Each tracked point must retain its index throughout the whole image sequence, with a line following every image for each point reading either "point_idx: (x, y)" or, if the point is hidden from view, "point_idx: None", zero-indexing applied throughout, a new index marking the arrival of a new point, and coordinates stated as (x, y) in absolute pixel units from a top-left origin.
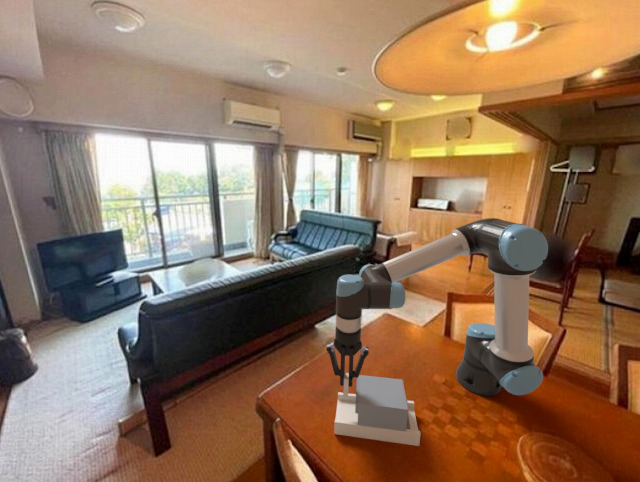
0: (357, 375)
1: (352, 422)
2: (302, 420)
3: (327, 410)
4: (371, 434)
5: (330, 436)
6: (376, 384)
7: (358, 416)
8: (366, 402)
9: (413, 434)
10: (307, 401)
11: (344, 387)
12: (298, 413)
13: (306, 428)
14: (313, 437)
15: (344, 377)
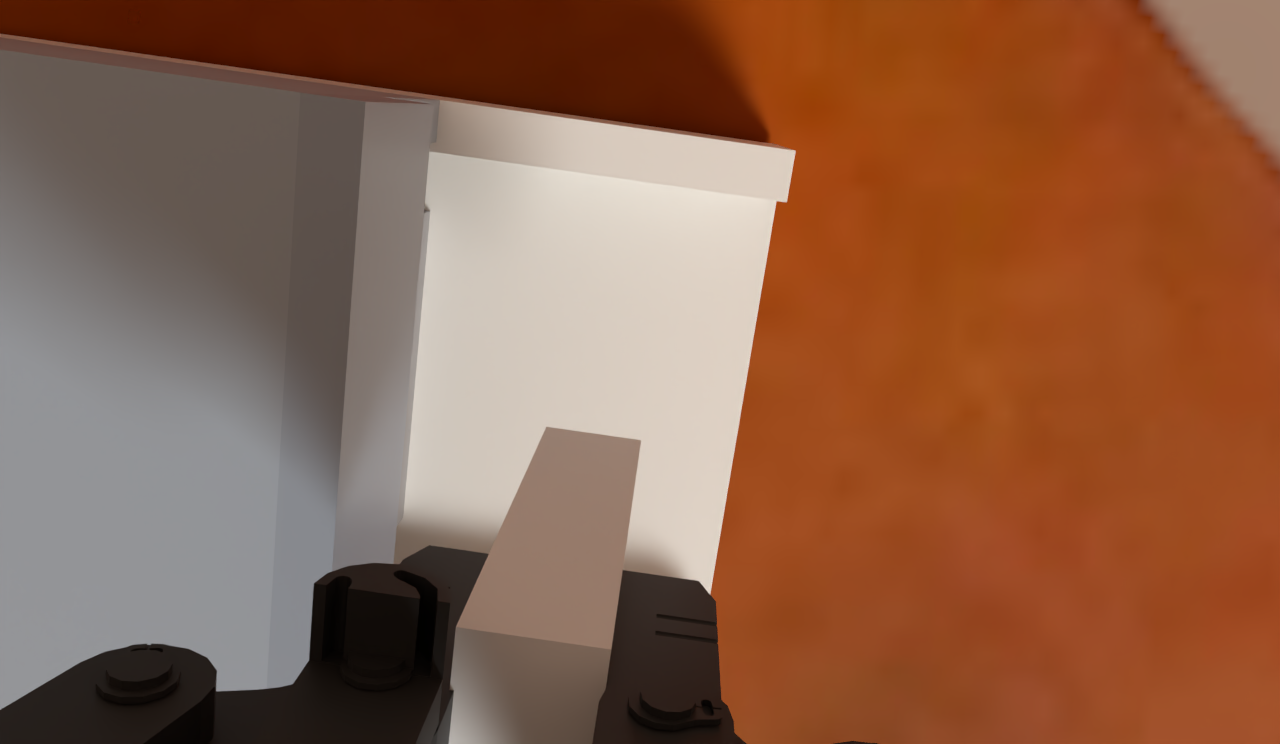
0: (91, 693)
1: (516, 148)
2: (1183, 346)
3: (841, 498)
4: (278, 74)
5: (824, 116)
6: None
7: (388, 96)
8: (111, 129)
9: None
10: (1102, 633)
11: (605, 519)
12: (1232, 451)
13: (1134, 228)
14: (1048, 97)
15: (586, 704)
